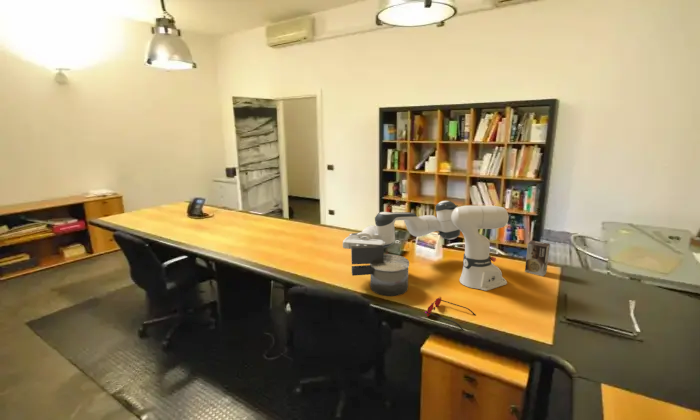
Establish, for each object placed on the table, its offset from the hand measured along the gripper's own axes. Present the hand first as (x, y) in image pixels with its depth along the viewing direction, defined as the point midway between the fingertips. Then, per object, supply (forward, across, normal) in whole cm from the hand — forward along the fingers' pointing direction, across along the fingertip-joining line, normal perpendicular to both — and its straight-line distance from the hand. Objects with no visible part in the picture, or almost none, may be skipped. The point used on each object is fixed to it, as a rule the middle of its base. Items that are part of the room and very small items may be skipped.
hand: (359, 250), depth 164 cm
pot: (-1, -10, -19) cm, 21 cm away
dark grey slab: (-1, -10, -7) cm, 12 cm away
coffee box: (-36, -86, -19) cm, 95 cm away
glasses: (+17, -42, -20) cm, 50 cm away
